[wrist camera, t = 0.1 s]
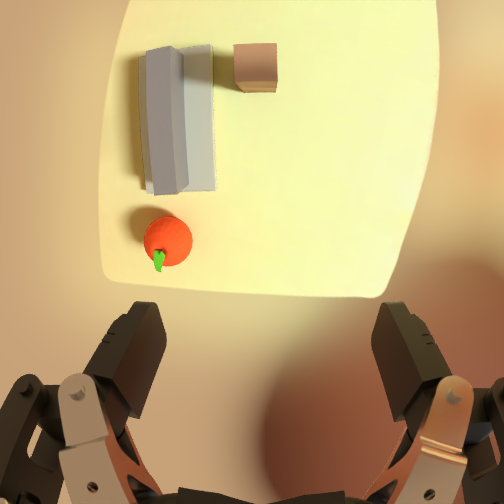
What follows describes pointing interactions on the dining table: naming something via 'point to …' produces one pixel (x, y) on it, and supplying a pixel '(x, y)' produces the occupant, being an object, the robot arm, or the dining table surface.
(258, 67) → the walnut post
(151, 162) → the ridge stand
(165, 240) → the clementine
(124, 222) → the dining table surface
